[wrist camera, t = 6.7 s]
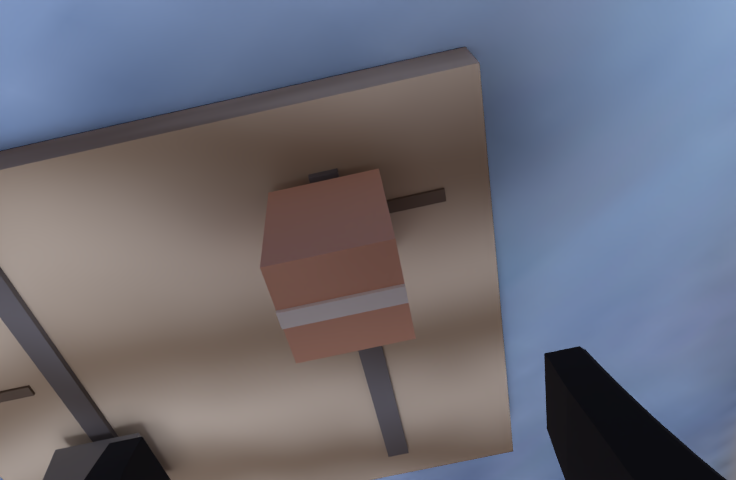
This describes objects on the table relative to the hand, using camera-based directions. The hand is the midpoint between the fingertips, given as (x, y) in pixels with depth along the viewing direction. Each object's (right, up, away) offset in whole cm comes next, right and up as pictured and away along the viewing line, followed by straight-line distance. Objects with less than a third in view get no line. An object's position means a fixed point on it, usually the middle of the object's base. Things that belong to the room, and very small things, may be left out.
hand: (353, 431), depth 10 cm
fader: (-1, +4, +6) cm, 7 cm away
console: (-5, 0, +10) cm, 11 cm away
